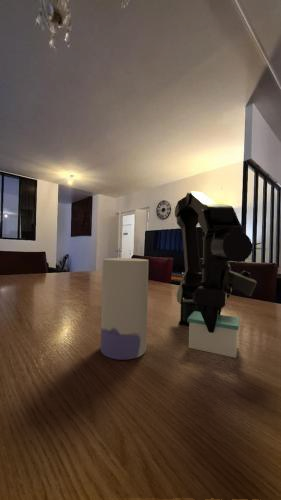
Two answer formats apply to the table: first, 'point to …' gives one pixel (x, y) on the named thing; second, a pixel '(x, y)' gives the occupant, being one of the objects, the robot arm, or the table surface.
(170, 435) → the table surface
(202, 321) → the lid
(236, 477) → the table surface
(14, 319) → the table surface
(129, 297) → the container
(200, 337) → the storage box
